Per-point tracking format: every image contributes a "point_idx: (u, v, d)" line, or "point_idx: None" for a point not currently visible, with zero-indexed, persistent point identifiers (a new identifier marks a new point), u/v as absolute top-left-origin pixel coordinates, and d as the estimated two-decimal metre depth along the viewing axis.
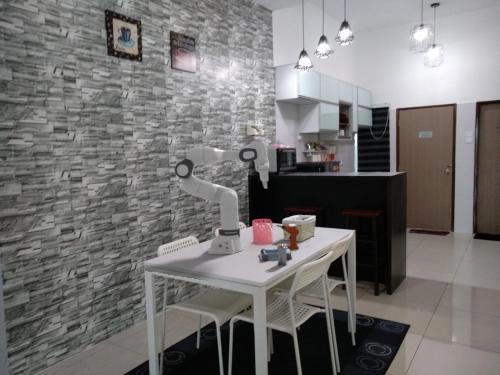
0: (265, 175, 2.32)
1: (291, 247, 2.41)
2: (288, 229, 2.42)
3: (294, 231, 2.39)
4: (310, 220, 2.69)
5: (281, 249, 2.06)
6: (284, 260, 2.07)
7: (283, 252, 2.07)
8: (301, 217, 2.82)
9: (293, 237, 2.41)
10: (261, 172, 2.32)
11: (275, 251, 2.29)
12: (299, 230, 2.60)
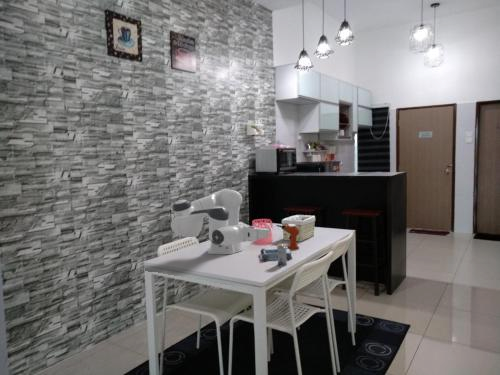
0: (264, 232, 1.86)
1: (291, 247, 2.41)
2: (288, 229, 2.42)
3: (294, 231, 2.39)
4: (310, 220, 2.69)
5: (281, 249, 2.06)
6: (284, 260, 2.07)
7: (283, 252, 2.07)
8: (301, 217, 2.82)
9: (293, 237, 2.41)
10: (260, 237, 1.85)
11: (275, 251, 2.29)
12: (299, 230, 2.61)
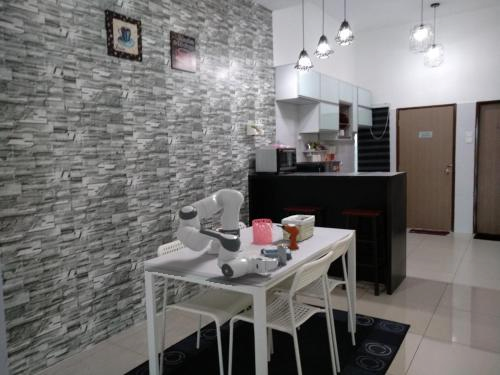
0: (272, 263, 1.90)
1: (291, 247, 2.41)
2: (288, 229, 2.42)
3: (294, 231, 2.39)
4: (309, 220, 2.69)
5: (281, 249, 2.06)
6: (284, 260, 2.07)
7: (283, 252, 2.07)
8: (300, 217, 2.82)
9: (293, 237, 2.41)
10: (269, 268, 1.89)
11: (275, 251, 2.29)
12: None
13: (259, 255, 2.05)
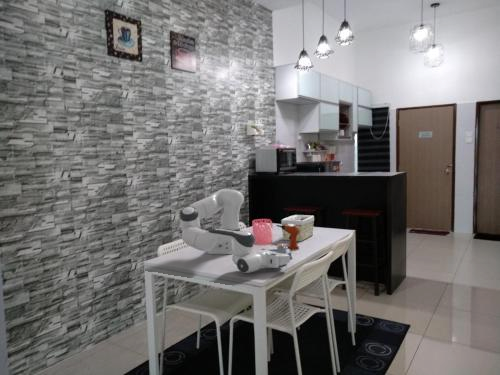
0: (286, 258, 1.97)
1: (291, 247, 2.41)
2: (288, 229, 2.42)
3: (294, 231, 2.39)
4: (309, 220, 2.69)
5: (281, 249, 2.06)
6: None
7: (283, 252, 2.07)
8: (299, 217, 2.82)
9: (293, 237, 2.41)
10: (282, 263, 1.96)
11: None
12: None
13: (274, 251, 2.10)
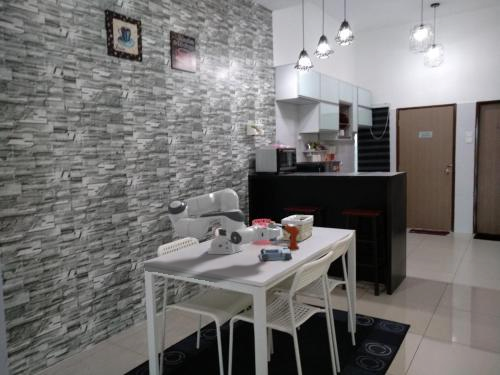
0: (276, 232, 2.10)
1: (291, 247, 2.41)
2: (288, 229, 2.42)
3: (294, 231, 2.39)
4: (309, 220, 2.70)
5: (272, 225, 2.20)
6: None
7: (274, 228, 2.20)
8: (298, 217, 2.83)
9: (293, 237, 2.41)
10: (273, 236, 2.10)
11: (275, 251, 2.29)
12: (299, 230, 2.61)
13: None
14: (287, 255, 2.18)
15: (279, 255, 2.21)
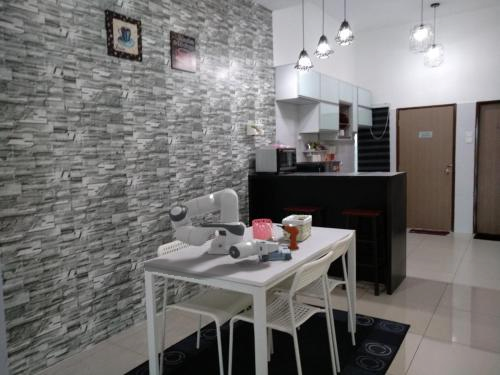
0: (274, 246, 2.12)
1: (291, 247, 2.41)
2: (288, 229, 2.42)
3: (294, 231, 2.39)
4: (308, 220, 2.70)
5: (271, 241, 2.22)
6: None
7: None
8: (297, 217, 2.83)
9: (293, 237, 2.41)
10: (271, 251, 2.11)
11: None
12: (300, 230, 2.61)
13: None
14: (287, 255, 2.18)
15: (279, 255, 2.21)
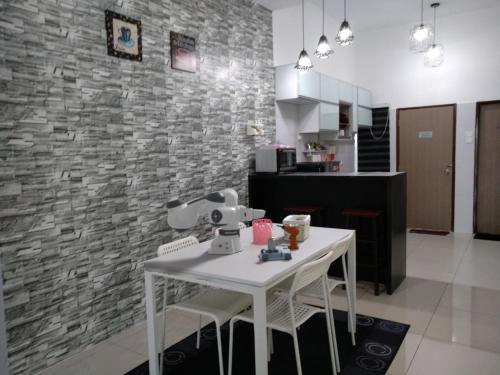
0: (259, 213, 2.01)
1: (291, 247, 2.41)
2: (288, 229, 2.42)
3: (294, 231, 2.39)
4: (308, 219, 2.71)
5: (271, 241, 2.22)
6: (273, 251, 2.23)
7: (272, 244, 2.22)
8: (295, 217, 2.83)
9: (293, 237, 2.41)
10: (256, 217, 2.00)
11: None
12: (301, 230, 2.61)
13: None
14: (287, 255, 2.18)
15: (279, 255, 2.21)
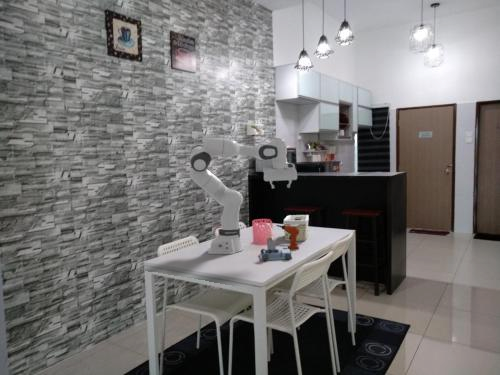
0: None
1: (291, 247, 2.41)
2: (288, 229, 2.42)
3: (294, 231, 2.39)
4: None
5: (270, 241, 2.22)
6: (273, 251, 2.23)
7: (272, 244, 2.22)
8: (293, 217, 2.83)
9: (293, 237, 2.41)
10: (295, 170, 2.33)
11: None
12: (302, 230, 2.61)
13: (271, 183, 2.36)
14: (287, 255, 2.18)
15: (279, 255, 2.21)
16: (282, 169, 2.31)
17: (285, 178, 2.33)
